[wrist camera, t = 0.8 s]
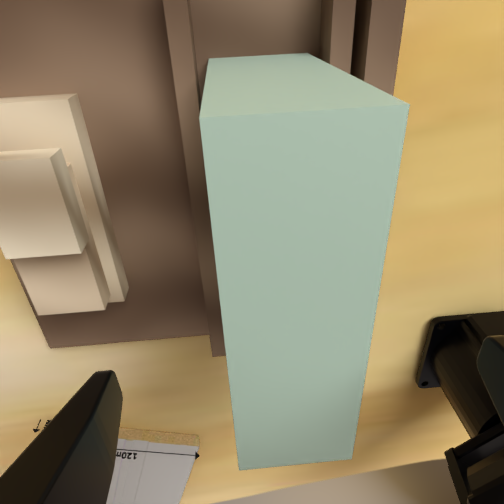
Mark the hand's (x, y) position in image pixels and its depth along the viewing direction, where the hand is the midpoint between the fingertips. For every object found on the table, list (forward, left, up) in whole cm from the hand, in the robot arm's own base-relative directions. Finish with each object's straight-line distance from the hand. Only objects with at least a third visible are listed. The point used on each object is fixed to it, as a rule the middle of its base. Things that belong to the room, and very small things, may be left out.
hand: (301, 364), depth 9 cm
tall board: (0, 0, -11) cm, 11 cm away
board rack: (0, +4, -12) cm, 12 cm away
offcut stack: (0, +9, -11) cm, 14 cm away
